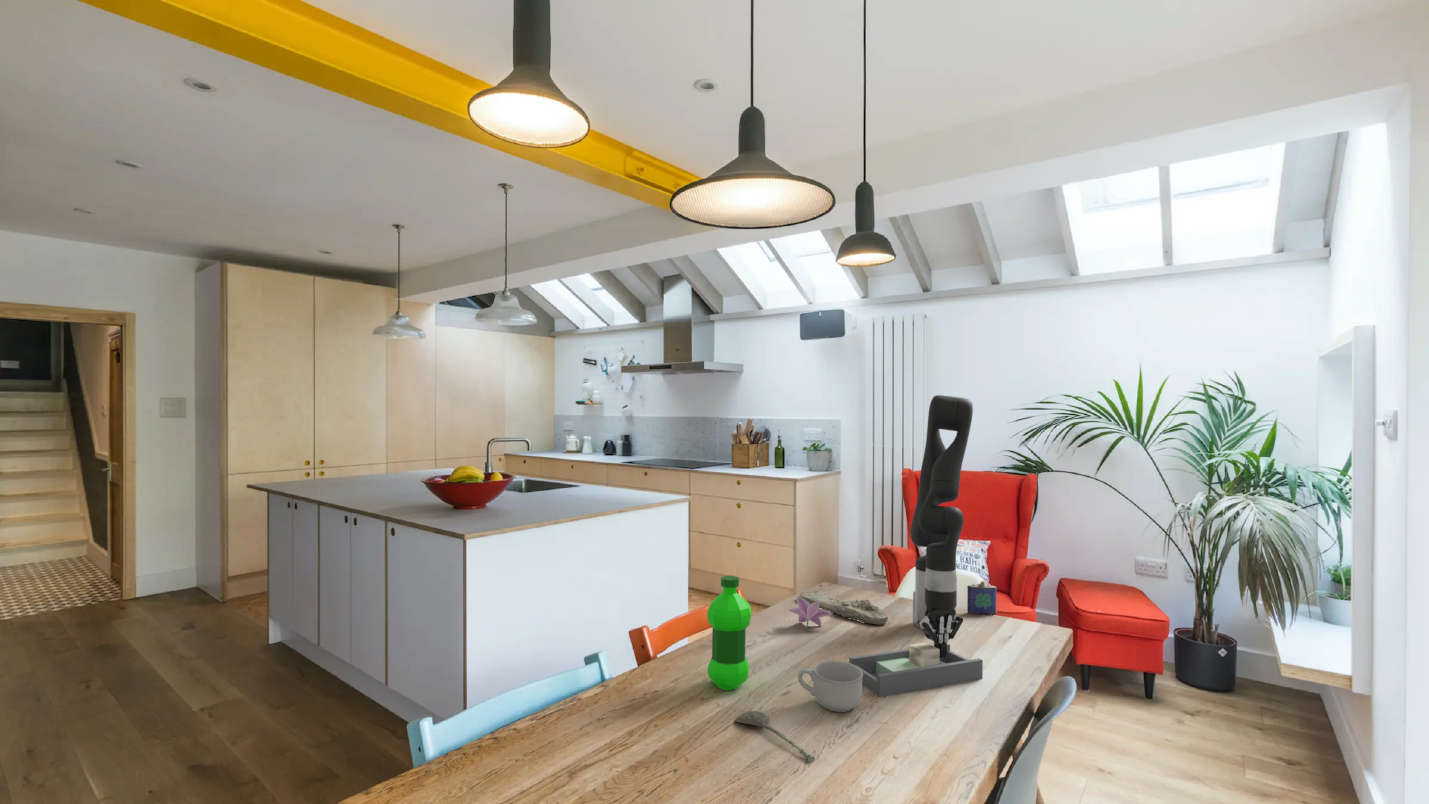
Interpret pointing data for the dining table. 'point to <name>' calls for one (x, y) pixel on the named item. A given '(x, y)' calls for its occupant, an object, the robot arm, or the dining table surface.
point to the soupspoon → (763, 720)
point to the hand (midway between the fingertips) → (940, 656)
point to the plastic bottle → (729, 636)
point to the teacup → (834, 684)
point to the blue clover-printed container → (981, 599)
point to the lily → (809, 611)
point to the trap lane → (913, 671)
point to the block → (924, 654)
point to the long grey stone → (848, 608)
